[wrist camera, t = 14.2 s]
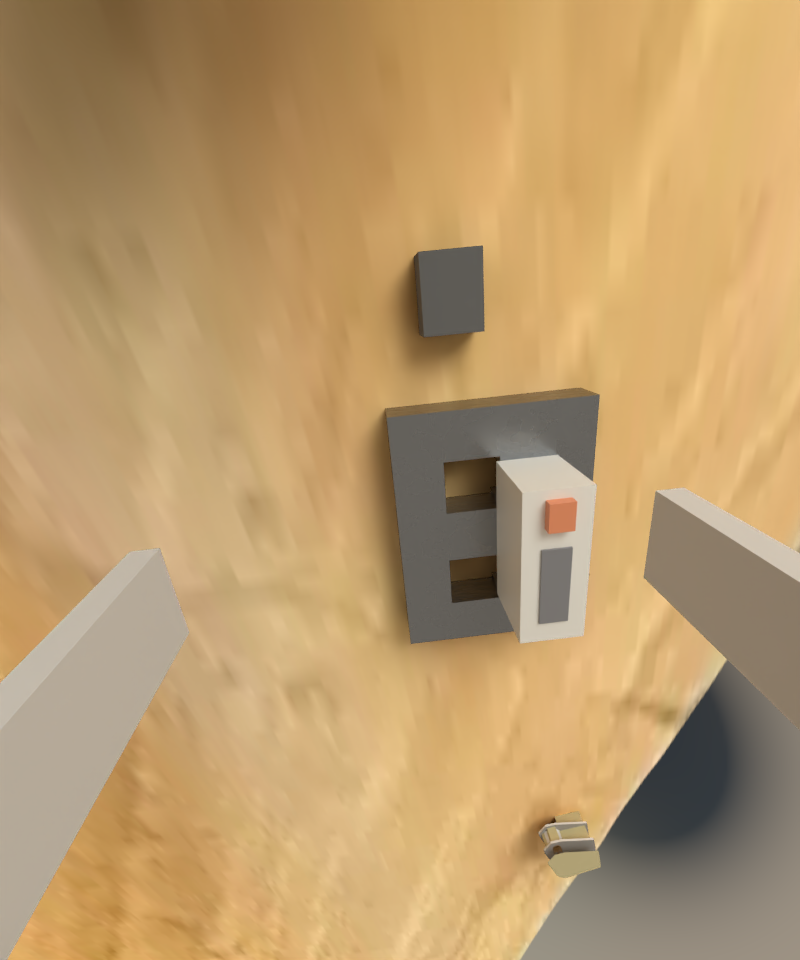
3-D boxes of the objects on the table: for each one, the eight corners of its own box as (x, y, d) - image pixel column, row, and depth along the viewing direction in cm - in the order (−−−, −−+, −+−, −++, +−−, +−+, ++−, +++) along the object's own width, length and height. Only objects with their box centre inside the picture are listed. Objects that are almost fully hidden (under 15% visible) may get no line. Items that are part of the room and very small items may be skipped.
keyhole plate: (408, 621, 48) (410, 643, 45) (385, 408, 39) (386, 417, 36) (567, 601, 48) (581, 622, 45) (580, 387, 39) (599, 394, 36)
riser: (419, 335, 37) (424, 337, 34) (413, 256, 35) (418, 251, 32) (475, 329, 37) (484, 331, 34) (473, 251, 35) (482, 245, 32)
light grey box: (489, 575, 46) (522, 650, 36) (487, 451, 41) (526, 497, 31) (540, 570, 46) (588, 642, 36) (544, 444, 41) (602, 488, 31)
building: (588, 791, 62) (608, 835, 57) (593, 829, 65) (612, 873, 60) (520, 807, 62) (534, 852, 57) (528, 844, 65) (542, 889, 60)
